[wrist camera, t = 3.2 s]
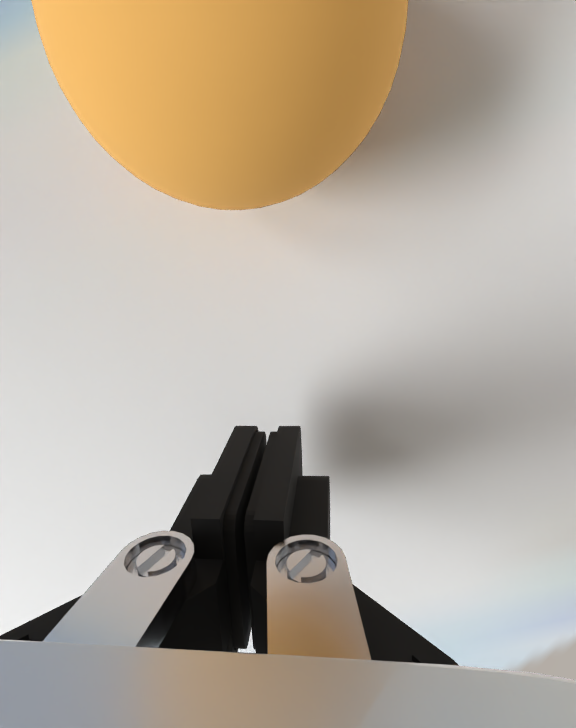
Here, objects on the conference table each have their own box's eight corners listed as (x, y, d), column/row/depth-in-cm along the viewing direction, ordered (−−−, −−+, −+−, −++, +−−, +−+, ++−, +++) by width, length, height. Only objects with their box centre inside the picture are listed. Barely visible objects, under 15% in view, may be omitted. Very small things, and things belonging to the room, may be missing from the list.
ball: (148, 218, 12) (-22, 214, 6) (113, -66, 10) (-168, -438, 4) (382, 207, 11) (436, 191, 6) (388, -97, 10) (473, -571, 4)
